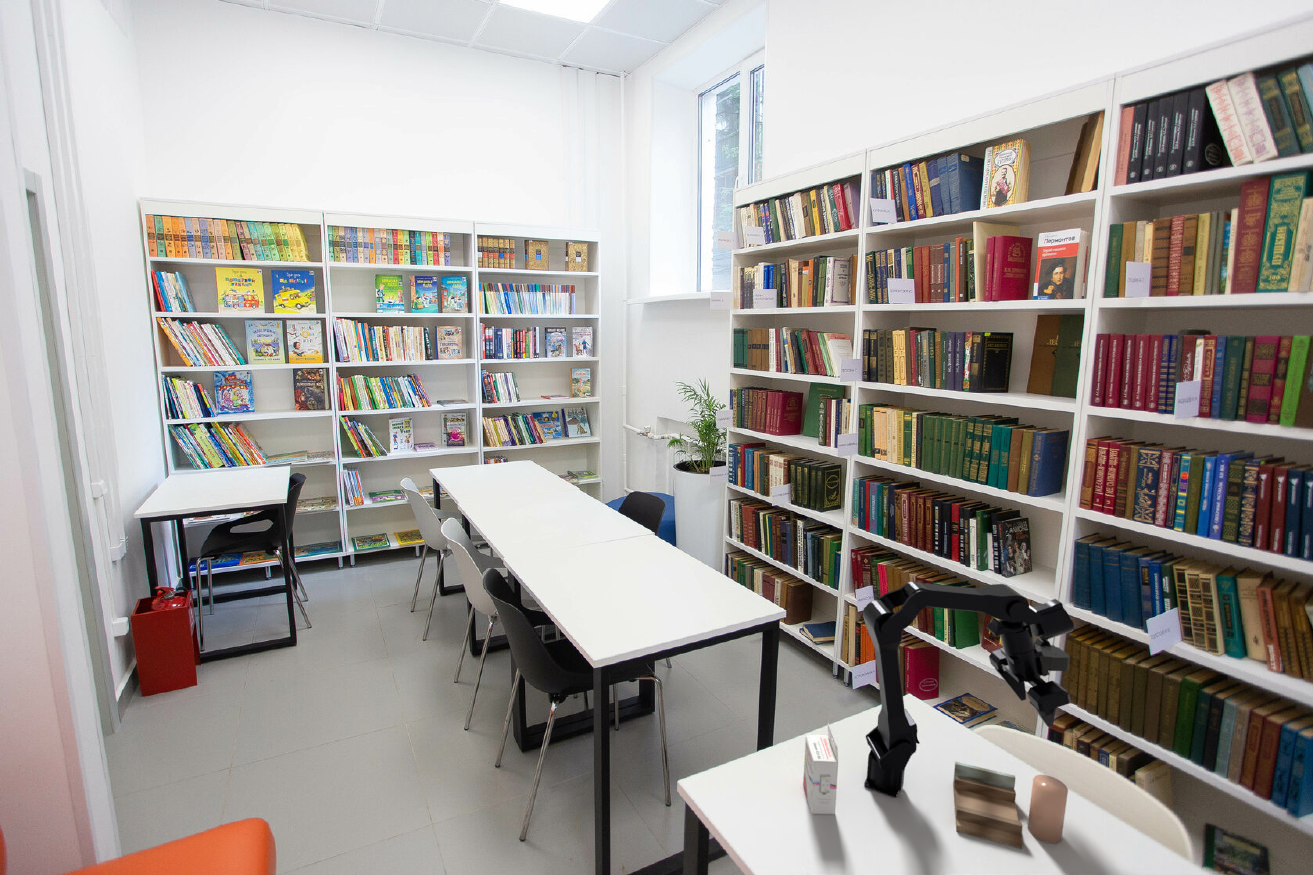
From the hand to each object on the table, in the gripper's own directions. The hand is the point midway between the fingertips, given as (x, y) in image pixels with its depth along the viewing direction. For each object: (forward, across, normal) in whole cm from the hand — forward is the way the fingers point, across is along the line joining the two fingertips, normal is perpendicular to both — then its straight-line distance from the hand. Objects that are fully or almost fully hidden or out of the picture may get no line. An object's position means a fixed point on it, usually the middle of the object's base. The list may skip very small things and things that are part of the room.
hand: (1036, 712), depth 134 cm
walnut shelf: (+11, -9, +18) cm, 23 cm away
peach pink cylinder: (+14, -13, +10) cm, 22 cm away
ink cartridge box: (0, -5, +48) cm, 49 cm away
